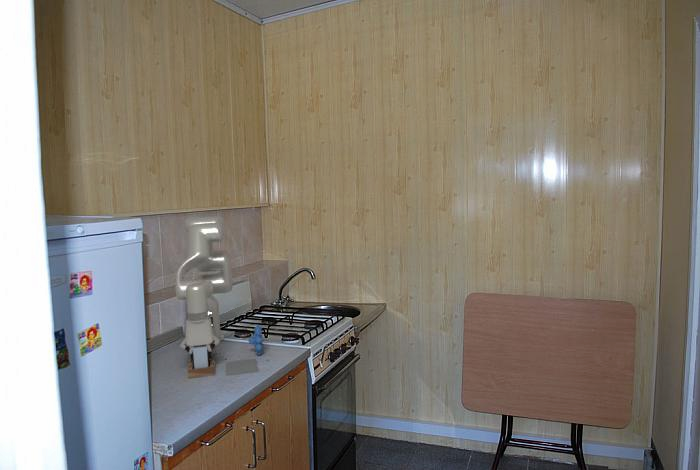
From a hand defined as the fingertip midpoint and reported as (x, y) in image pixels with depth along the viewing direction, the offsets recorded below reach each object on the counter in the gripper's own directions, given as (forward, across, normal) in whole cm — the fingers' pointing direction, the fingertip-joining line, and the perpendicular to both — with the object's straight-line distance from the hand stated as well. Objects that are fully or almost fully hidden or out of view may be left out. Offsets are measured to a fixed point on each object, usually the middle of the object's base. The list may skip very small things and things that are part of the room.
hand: (201, 361), depth 185 cm
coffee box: (+5, 0, -19) cm, 19 cm away
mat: (+4, -15, 0) cm, 16 cm away
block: (+4, 0, 0) cm, 4 cm away
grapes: (+5, -22, -14) cm, 26 cm away
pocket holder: (+4, 0, 0) cm, 4 cm away
